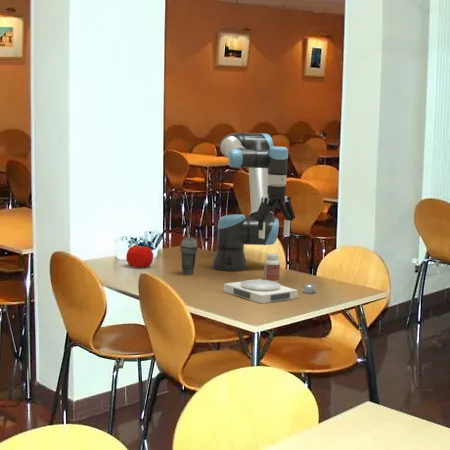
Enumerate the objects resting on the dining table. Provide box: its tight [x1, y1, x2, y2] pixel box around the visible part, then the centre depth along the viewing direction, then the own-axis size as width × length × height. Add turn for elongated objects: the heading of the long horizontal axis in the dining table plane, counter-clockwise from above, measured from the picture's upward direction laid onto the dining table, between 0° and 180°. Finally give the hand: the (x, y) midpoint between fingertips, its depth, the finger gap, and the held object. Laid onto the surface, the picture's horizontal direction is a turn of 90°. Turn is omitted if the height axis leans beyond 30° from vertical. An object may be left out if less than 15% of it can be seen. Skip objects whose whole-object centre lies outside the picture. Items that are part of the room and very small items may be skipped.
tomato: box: [125, 244, 154, 269], centre depth 356 cm, size 11×12×9 cm
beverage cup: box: [180, 226, 198, 276], centre depth 344 cm, size 7×7×20 cm
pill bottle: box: [263, 253, 281, 283], centre depth 337 cm, size 6×6×11 cm
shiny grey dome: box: [302, 283, 317, 295], centre depth 320 cm, size 5×5×3 cm
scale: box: [223, 278, 299, 305], centre depth 312 cm, size 22×18×4 cm
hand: (274, 237), depth 335 cm, fingers open, 13 cm apart
